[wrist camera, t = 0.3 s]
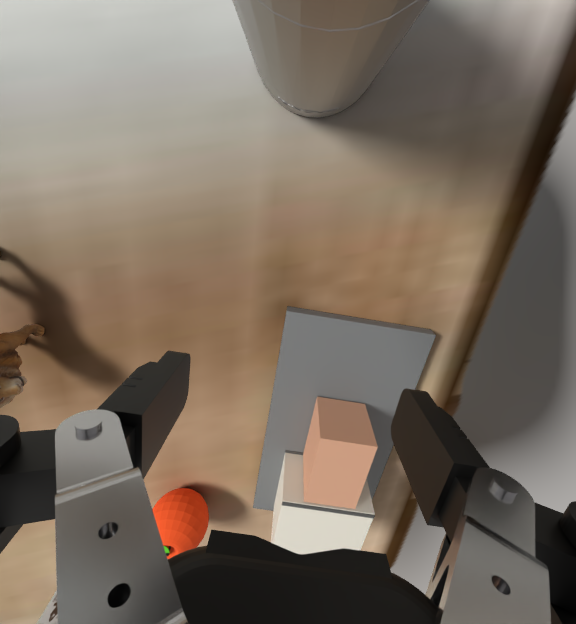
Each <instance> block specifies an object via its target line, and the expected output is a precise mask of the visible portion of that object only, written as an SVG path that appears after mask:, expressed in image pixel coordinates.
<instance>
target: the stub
mask: <svg viewBox="0 0 576 624" xmlns="http://www.w3.org/2000/svg"><path fill="white" fill-rule="evenodd" d="M377 448H378V446H377V442H376V439H375V436H374V432H373V429H372V426H371V422H370V419H369V416H368V412H367V409H366V405H365V404H362V403H356V402H349V401H343V400H336V399H330V398H323V397H317V399H316V403H315V407H314V411H313V415H312V419H311V424H310V428H309V432H308V436H307V440H306V444H305V448H304V453H303V484H304V502H310V503H317V504H324V505H331V506H337V507H344V508H351V509H355V508H356V506H357V503H358V500H359V497H360V495H361V492H362V489H363V486H364V484H365V481H366V478H367V475H368V473H369V470H370V467H371V464H372V462H373V459H374V456H375V453H376V451H377Z"/></svg>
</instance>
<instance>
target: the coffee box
mask: <svg viewBox="0 0 576 624" xmlns="http://www.w3.org/2000/svg"><path fill="white" fill-rule="evenodd" d="M36 624H58V612H57V590H56V592H55V594H54V595H53V597H52V599H51V600H50V602H49V604H48V605H47V607H46V609H45V610H44V612H43V613H42V615H41V617H40V618H39V620H38V622H37V623H36Z"/></svg>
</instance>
